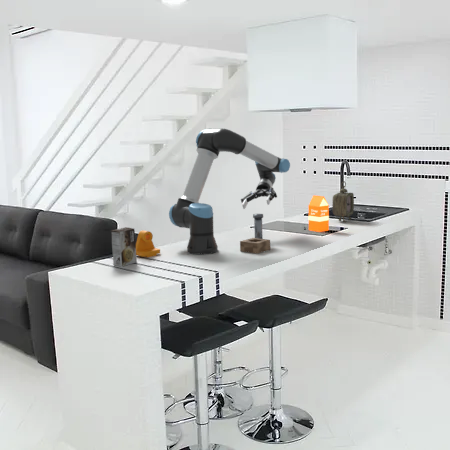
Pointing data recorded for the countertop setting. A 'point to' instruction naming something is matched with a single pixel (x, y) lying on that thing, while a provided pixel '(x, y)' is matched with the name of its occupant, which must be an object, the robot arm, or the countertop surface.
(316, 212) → the orange juice
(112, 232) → the coffee box
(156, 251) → the bracket
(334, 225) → the countertop surface
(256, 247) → the socket block
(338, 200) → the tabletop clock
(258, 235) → the steel pin
